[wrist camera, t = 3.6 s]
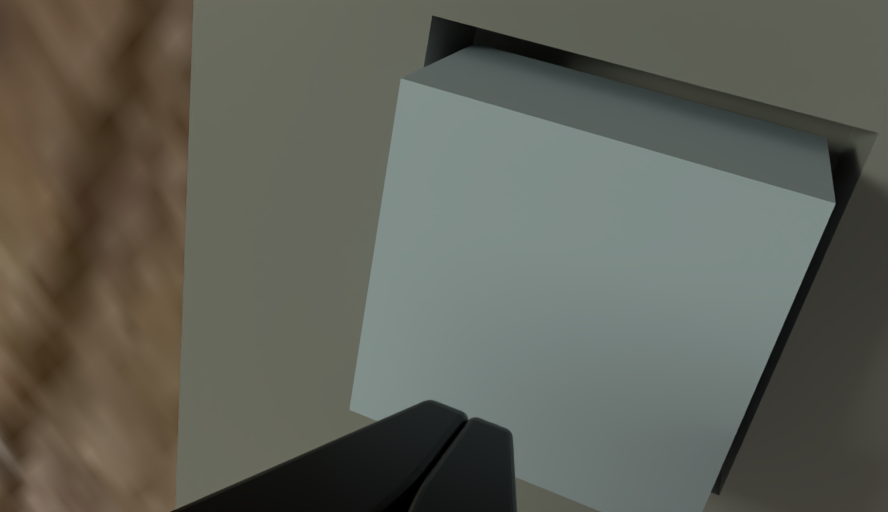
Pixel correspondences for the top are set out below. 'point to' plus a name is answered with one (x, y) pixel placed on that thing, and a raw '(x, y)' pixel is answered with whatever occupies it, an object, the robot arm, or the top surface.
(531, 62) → the slate key
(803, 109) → the keypad
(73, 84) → the top surface
